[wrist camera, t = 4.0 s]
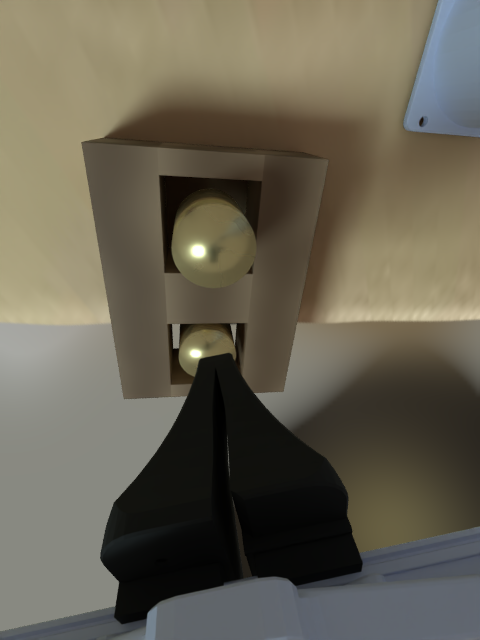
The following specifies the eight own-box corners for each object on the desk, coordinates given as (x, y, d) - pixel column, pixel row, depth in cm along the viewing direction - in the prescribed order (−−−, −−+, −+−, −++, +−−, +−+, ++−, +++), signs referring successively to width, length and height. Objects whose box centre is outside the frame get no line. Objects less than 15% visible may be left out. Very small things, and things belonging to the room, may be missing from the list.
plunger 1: (246, 190, 16) (260, 208, 13) (241, 258, 18) (252, 288, 15) (173, 187, 15) (169, 203, 12) (176, 257, 17) (173, 288, 14)
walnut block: (303, 152, 18) (328, 159, 15) (271, 356, 26) (283, 391, 23) (103, 137, 17) (81, 142, 13) (132, 361, 25) (123, 399, 21)
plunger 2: (230, 302, 23) (238, 332, 19) (228, 344, 24) (234, 377, 21) (179, 303, 22) (177, 334, 19) (180, 344, 24) (179, 379, 21)
